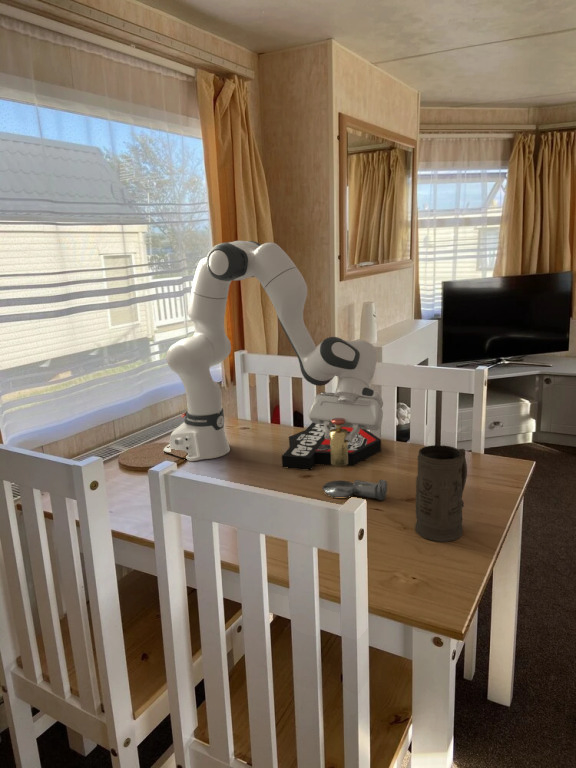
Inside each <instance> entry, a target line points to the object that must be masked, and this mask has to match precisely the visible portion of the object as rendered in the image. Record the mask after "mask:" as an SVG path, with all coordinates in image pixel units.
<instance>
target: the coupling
mask: <svg viewBox="0 0 576 768" xmlns="http://www.w3.org/2000/svg"><path fill="white" fill-rule="evenodd" d="M322 486H323V487H322V488H323V489H322V490H323V491H324V492H325V493H326V494H327V495H330V496H332V497H349V496H350V497H349V498H352V497H353V496H352V495H354V496H358V497H364V498H368V499H373V500H374V499H375V500H377V501H385V499H386V497H387V493H388V481H387V480H385V479H379V480H378V482H371V481H365V480H360V479H355V480H354V481H353V482H351V481H348V480H332V481H328V482H326V483H325V484H324V485H322ZM323 491H322V492H323Z"/></svg>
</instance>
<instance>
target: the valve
mask: <svg viewBox="0 0 576 768" xmlns="http://www.w3.org/2000/svg"><path fill="white" fill-rule="evenodd" d="M331 423H332V424H335V425H336V429H332V430H330V450H331V464H332V465H331V466H336V467H343V466H345V465H347V464H348V442H346V440H345V437H346V434H347V430H346V429H342V428H341V424H344V423H345V419H343V418H334V419H332V420H331ZM345 467H346V466H345Z"/></svg>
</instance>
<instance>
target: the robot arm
mask: <svg viewBox="0 0 576 768" xmlns="http://www.w3.org/2000/svg"><path fill="white" fill-rule="evenodd" d="M250 278H256V279H257V281H258V282H259V283H260V285H261V287H262V289H263V290H264V292H265V293H266V295H267V296H268V298H269V299H270V301H271V303H272V305H273V308H274V310H275V312H276V316H277V319H278V321H279V324H280V326H281V328H282V329H283V332H284V334H285V336H286V338H287V339H288V342H289V343H290V346H291V347H292V349H293V351H294V353H295V354H296V357H297V360H298V363H299V368H300V372H301V374H302V376H303V378H304V379H305V380H306V381H307V382H309V383H310V384H312V385H314V386H318V387H319V386H326V385H328V384H329V383H330V382H331V381H332V380H333V379H334V378H335V377H337V378H338V381H337V382H338V383H337V386H336V389H335V391H334V392H326V391H322V392H321V393H318V394H316V395H315V396H314V399H313V403H312V405H311V407H310V409H309V411H308V413H307V415H308V418H309V421H311V423H312V422H313V423H317V424H324V427H325V431H326V432H325V435H324V437H325V439H329V440H330V431H329V428H331V426H332V425H333V426H336V425H335V424H332V423H331V420H332V419H334V418H343V419H345V423H344V424H341V426H342V427H350V428H353V430H352V431H351V432H350V433H349V434H346V437H345V440H346V442H352V441H353V437H355V436H356V435H357V434H358V433H359V431H360V429H366V430H368V431H375V432H376V431H378V430H380V428H381V426H382V424H383V418H384V412H383V409H382V408H383V406H384V401H383V398H382V396H381V394H380V393H379V392H378V391H377V390H376V389H373V388H372V387H371V385H370V384H371V381H372V380H373V378H374V375H375V372H376V366H377V361H378V354H377V349H376V347H375V346H374V345H373V344H372V343H370V342H369V341H366V340H364V339H363V340H362V339H356V340H346V339H345V340H344V339H343V338H340V337H339V336H338V337H337V336H329V337H326V338H324V339H323V340H322V341H321V342H320V343H319V344H318V345H317V346H316V344H315V342H314V339H313V338H312V336H311V333H309V331H308V328H307V326H306V324H305V321H304V310H305V309H304V308H305V304H306V300H307V297H308V285H307V283H306V281H305V278H304V277H303V275H302V273H301V271H300V270H299V269H298V267H297V266H296V264H295V262H294V261H293V260H292V259H291V257H290V256H289V255H288V254H287V253H286V251H285V250H283V248H281V247H280V245H279V244H277V243H275V242H265V243H262V244H261V243H260V242H257V241H254V240H247V241H246V240H234V241H229V242H221V243H218V244H216V245H214V246H213V247H211V248H210V249H209V251H208V252H207V256H205V257H203V258H202V259H200V260H199V262H198V264H197V266H196V269H195V273H194V277H193V280H192V286H191V291H190V298H189V299H190V300H189V304H188V312H187V313H188V317H189V318H190V320H191V321H192V322H193V324H194V334H193V335H192V336H189V337H185V338H182V339H179V340H177V342H174V343H173V344H171V346H170V347H169V348H168V350H167V351H166V362H167V365H168V367H169V368H170V370H171V371H172V372H173V373H175V374H176V375H178V377H179V379H180V380H181V382H182V385H183V387H184V391H185V397H186V404H187V406H186V407H187V411H185V412H184V413H181V414H180V416H181V418H184V420H183V422H182V423H181V424H180V425H178V426H177V427H176V428H175V429H174V430H173V431H172V432H171V434H170V437H169V444H167V445H165V447H164V448H163V451H165V452H171V449H175V450H182V451H185V452H187V453H188V455H187V456H186V459H187V460H186V461H189V462H197V461H201V460H210V459H211V460H212V459H215V458H219V457H223V456H225V455H227V454H229V452H230V450H231V447H230V445H229V442H228V439H227V435H226V430H225V411H224V408H223V406H222V405H223V403H222V402H223V401H222V391H221V386H220V384H219V383H218V382H216V381H214V379H213V377H212V375H211V371H210V368H211V367H213V366H217V365H219V364H221V363H222V362H223V361H225V360H226V359H227V358H228V357H229V355H230V354H231V351H232V345H231V343H232V342H231V340H230V339H229V337H228V336H227V335H226V331H225V315H226V308H227V301H228V296H229V289H230V285H231V282H232V281H242V280H246V279H250ZM169 446H170V447H169ZM167 447H169V448H167Z"/></svg>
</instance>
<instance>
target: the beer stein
mask: <svg viewBox="0 0 576 768" xmlns="http://www.w3.org/2000/svg"><path fill="white" fill-rule="evenodd" d="M417 453H418V454H417V458H416V459H417V476H416V478H415V479H416V480H415V481H416V482H415V519H416V522H415V526H414V528H415V533H417V534H418V535H419V536H420V537H422V538H424V539H426V540H429V541H433V542H440V543H442V542H443V543H444V542H445V543H446V542H451V541H455V540H458V539H460V538H461V537H462V536H463V531H464V530H463V508H464V507H465V506H464V505H465V503H464V501H463V493H464V490H465V485H466V483H467V477H468V476H467V475H468V464H467V460H466V458H467V457H466V449H465V448H456V447H453V446H448V445H444V444H443V445H441V444H435V445H428V446H424V447H421V448H420V449H419V451H418V452H417Z"/></svg>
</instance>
